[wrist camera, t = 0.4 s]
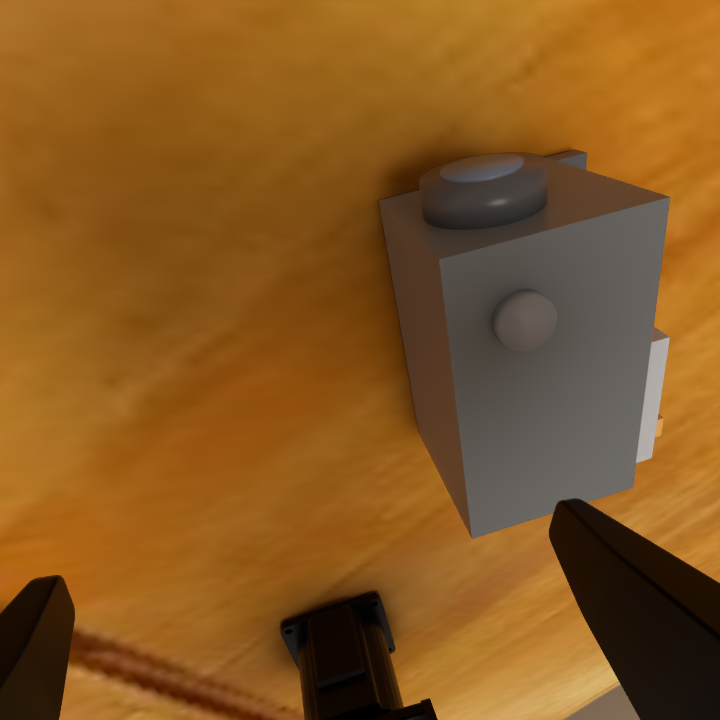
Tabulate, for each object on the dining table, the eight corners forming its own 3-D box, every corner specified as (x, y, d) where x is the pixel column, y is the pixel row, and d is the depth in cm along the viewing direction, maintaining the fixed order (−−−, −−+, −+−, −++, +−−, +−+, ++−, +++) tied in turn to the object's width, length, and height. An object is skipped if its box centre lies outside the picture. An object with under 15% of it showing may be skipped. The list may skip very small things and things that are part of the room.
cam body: (568, 387, 27) (672, 488, 21) (418, 431, 27) (478, 550, 20) (576, 113, 20) (737, 139, 14) (372, 165, 19) (441, 217, 13)
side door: (603, 386, 26) (675, 450, 22) (564, 398, 26) (629, 464, 22) (611, 278, 23) (697, 328, 19) (567, 291, 23) (644, 344, 18)
